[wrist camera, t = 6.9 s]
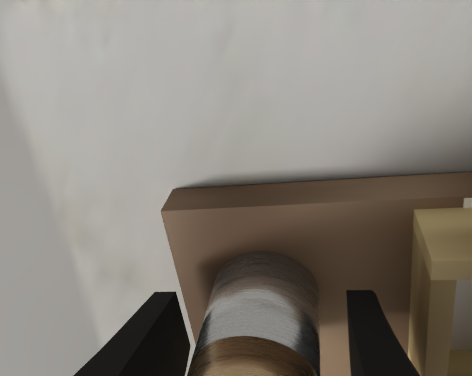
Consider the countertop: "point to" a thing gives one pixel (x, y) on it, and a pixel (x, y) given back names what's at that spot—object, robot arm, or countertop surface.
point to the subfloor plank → (345, 255)
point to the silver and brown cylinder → (260, 320)
